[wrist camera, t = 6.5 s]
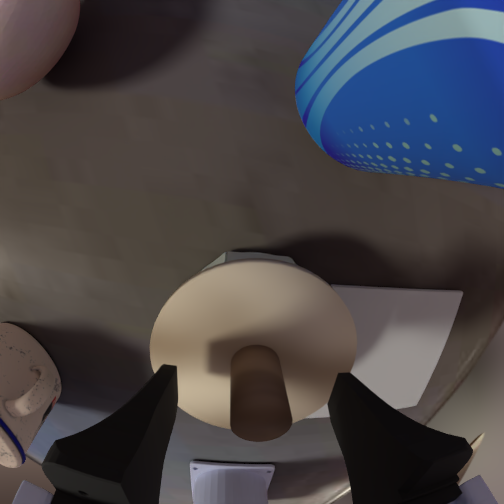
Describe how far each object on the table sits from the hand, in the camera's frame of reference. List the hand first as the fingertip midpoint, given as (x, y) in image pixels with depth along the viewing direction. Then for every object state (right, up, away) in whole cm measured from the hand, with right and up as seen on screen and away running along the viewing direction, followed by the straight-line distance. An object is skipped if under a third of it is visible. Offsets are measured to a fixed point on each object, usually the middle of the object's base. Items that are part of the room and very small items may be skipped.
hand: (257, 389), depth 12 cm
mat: (+10, -2, +8) cm, 13 cm away
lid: (0, +1, +2) cm, 3 cm away
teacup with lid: (-19, -3, +7) cm, 20 cm away
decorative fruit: (-13, +19, +1) cm, 24 cm away
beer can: (+6, +15, +3) cm, 16 cm away
